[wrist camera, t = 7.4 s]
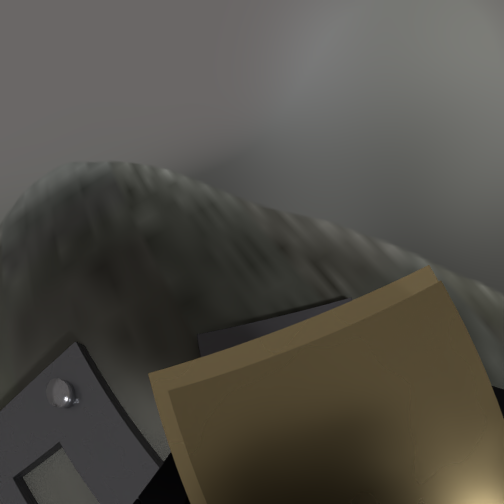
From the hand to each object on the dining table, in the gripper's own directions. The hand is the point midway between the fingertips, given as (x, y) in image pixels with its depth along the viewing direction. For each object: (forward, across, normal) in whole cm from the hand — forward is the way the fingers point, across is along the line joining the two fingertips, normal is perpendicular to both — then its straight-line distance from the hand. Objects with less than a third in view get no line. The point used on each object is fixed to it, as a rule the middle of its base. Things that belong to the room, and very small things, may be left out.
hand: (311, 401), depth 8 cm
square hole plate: (+3, +19, +12) cm, 23 cm away
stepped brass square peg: (+4, 0, +6) cm, 7 cm away
